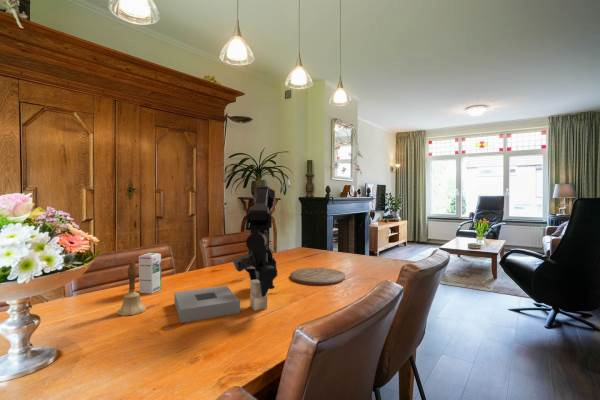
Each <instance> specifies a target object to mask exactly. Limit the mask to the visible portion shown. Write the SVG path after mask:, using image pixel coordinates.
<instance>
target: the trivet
mask: <svg viewBox="0 0 600 400" xmlns="http://www.w3.org/2000/svg"><path fill="white" fill-rule="evenodd" d="M289 277H290V280H291V279H292V282H294V283H297V284H301V283H302V285H306V284H308V285H307V286H318V285H319V286H332V285H331V284H333V285H337V284H336V283H338V284H341V283H343V282H344V281H346V274H345V273H344V272H342V271H340V270H337V269H333V268H328V267H304V268H303V267H302V268H298V269H294V270H293V271H291V273H290V275H289ZM343 280H344V281H343ZM342 281H343V282H342ZM340 282H341V283H340Z"/></svg>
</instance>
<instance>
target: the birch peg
mask: <svg viewBox="0 0 600 400" xmlns="http://www.w3.org/2000/svg"><path fill="white" fill-rule="evenodd" d="M249 280H250V279H249ZM249 287H250V289H249V290H250V291H249V292H250V293H249V294H250V296H249V297H250V303H249V305H250V308H251V309H252V310H253V311H254V312H256V311H261V310H267V309H268V293H267V294H266V296H265V297H262V295H261V288H260V281H259V280H258V279H256V280H250V285H249Z"/></svg>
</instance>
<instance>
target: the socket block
mask: <svg viewBox="0 0 600 400" xmlns="http://www.w3.org/2000/svg"><path fill="white" fill-rule="evenodd" d="M173 294H174V295H173V296H174V307H175V310H176V313H177V317H178V319H179V322H180V324H183V323H188V322H190V323H191V322H195V321H201V320H207V319H213V318H217V317H224V316H230V315H236V314H241V299H240V298H238V297H237V295H235V294H234V292H233V291H232V290H231V288H229V287H228V286H227V285H222V286H214V287H205V288H197V289H190V290H182V291H175V292H174V293H173Z"/></svg>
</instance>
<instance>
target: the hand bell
mask: <svg viewBox="0 0 600 400" xmlns="http://www.w3.org/2000/svg"><path fill="white" fill-rule="evenodd" d="M137 271H138V270H137V266H136V262H135V261H130V262H129V266H128V268H127V278H128V281H129V283H128V285H129V286H128V293H126V294H125V295H124V296H123V300H122V305H121V306H120V308H119V309H118V310H117V312H116V314H117V316H118V315H119V316H124V317H125V316H134V315H139V314H141V313H143V312H145V311H147V307H146V306H145V305H144V304H143V303H142V301H141V296H140V292H136V283H135V281H136V278H137V273H138V272H137Z"/></svg>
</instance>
